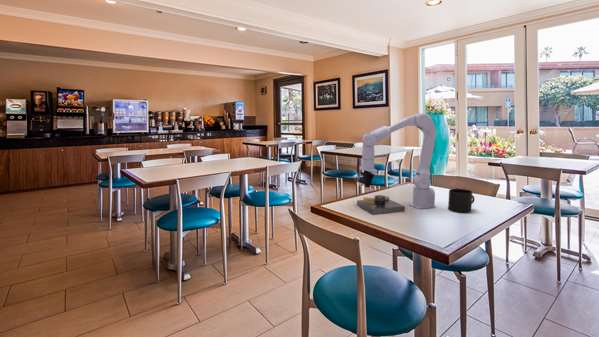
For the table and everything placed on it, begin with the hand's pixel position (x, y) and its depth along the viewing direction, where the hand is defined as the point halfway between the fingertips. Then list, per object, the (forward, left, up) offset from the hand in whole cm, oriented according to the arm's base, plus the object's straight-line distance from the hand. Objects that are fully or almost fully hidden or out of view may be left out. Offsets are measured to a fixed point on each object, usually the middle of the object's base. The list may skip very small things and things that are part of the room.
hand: (367, 186), depth 155 cm
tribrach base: (-3, +7, -9) cm, 12 cm away
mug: (-37, +21, -10) cm, 44 cm away
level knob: (-1, +6, -7) cm, 9 cm away
